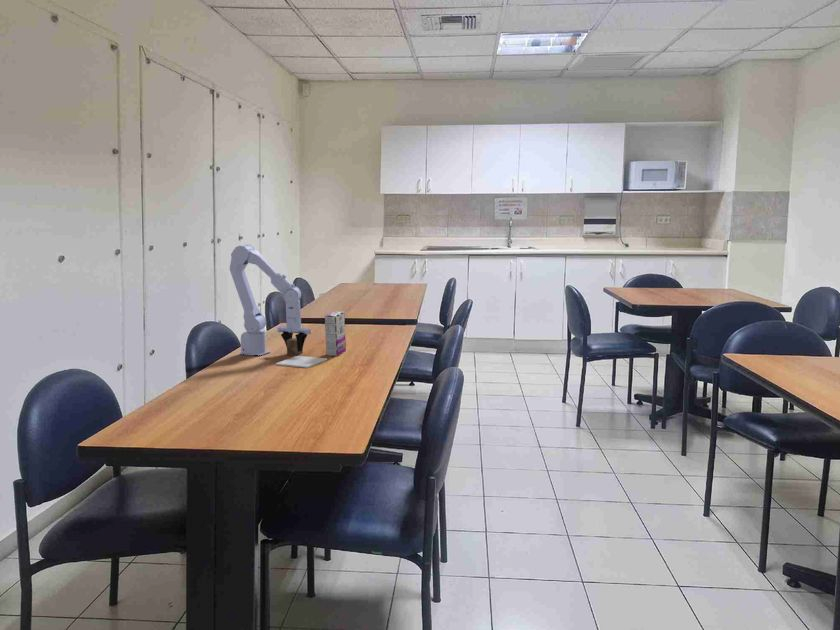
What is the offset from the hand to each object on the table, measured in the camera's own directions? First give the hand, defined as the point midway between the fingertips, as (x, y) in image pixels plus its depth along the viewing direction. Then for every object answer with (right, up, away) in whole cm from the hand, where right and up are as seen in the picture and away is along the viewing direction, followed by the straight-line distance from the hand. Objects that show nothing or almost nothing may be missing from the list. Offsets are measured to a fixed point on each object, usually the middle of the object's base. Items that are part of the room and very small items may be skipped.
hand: (294, 350), depth 257 cm
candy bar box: (+17, -1, +1) cm, 17 cm away
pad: (+6, -4, -15) cm, 16 cm away
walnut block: (0, -1, 0) cm, 1 cm away
